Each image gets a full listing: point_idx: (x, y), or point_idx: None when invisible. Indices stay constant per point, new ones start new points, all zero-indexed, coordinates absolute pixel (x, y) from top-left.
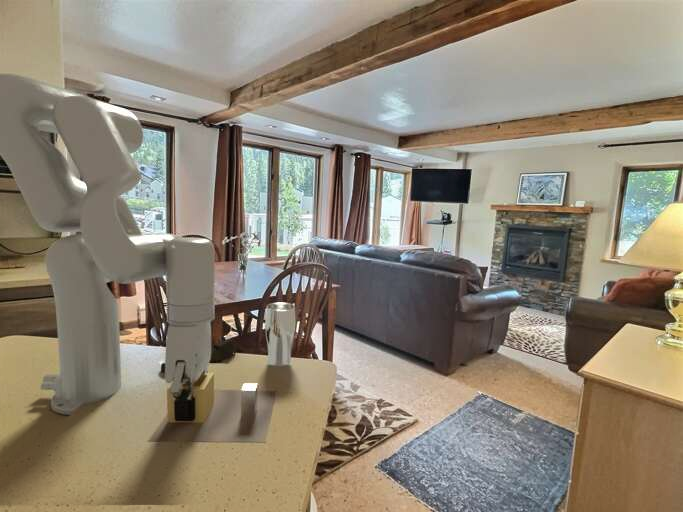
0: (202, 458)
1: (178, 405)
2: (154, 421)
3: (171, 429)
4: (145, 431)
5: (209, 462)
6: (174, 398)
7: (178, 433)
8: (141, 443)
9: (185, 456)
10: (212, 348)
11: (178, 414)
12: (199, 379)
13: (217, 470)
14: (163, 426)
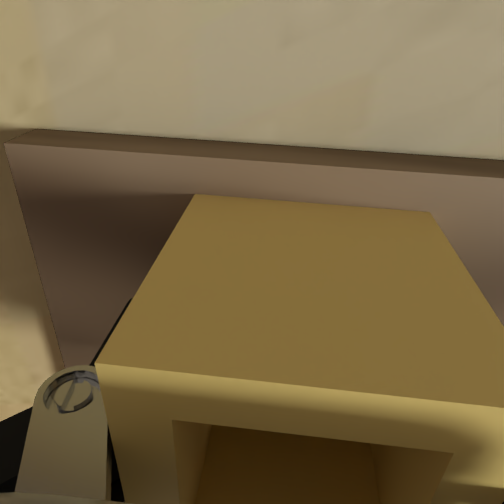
0: (45, 347)
1: (96, 359)
2: (304, 55)
3: (126, 235)
4: (192, 39)
5: (32, 367)
6: (43, 393)
7: (100, 275)
8: (79, 66)
9: (40, 295)
10: None
11: (123, 312)
12: (401, 497)
13: (6, 389)
14: (149, 183)
